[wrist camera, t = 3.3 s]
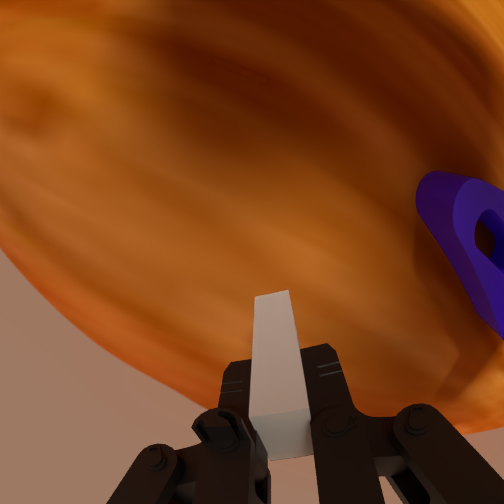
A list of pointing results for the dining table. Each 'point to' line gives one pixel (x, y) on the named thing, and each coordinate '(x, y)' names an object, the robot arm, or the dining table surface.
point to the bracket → (468, 236)
